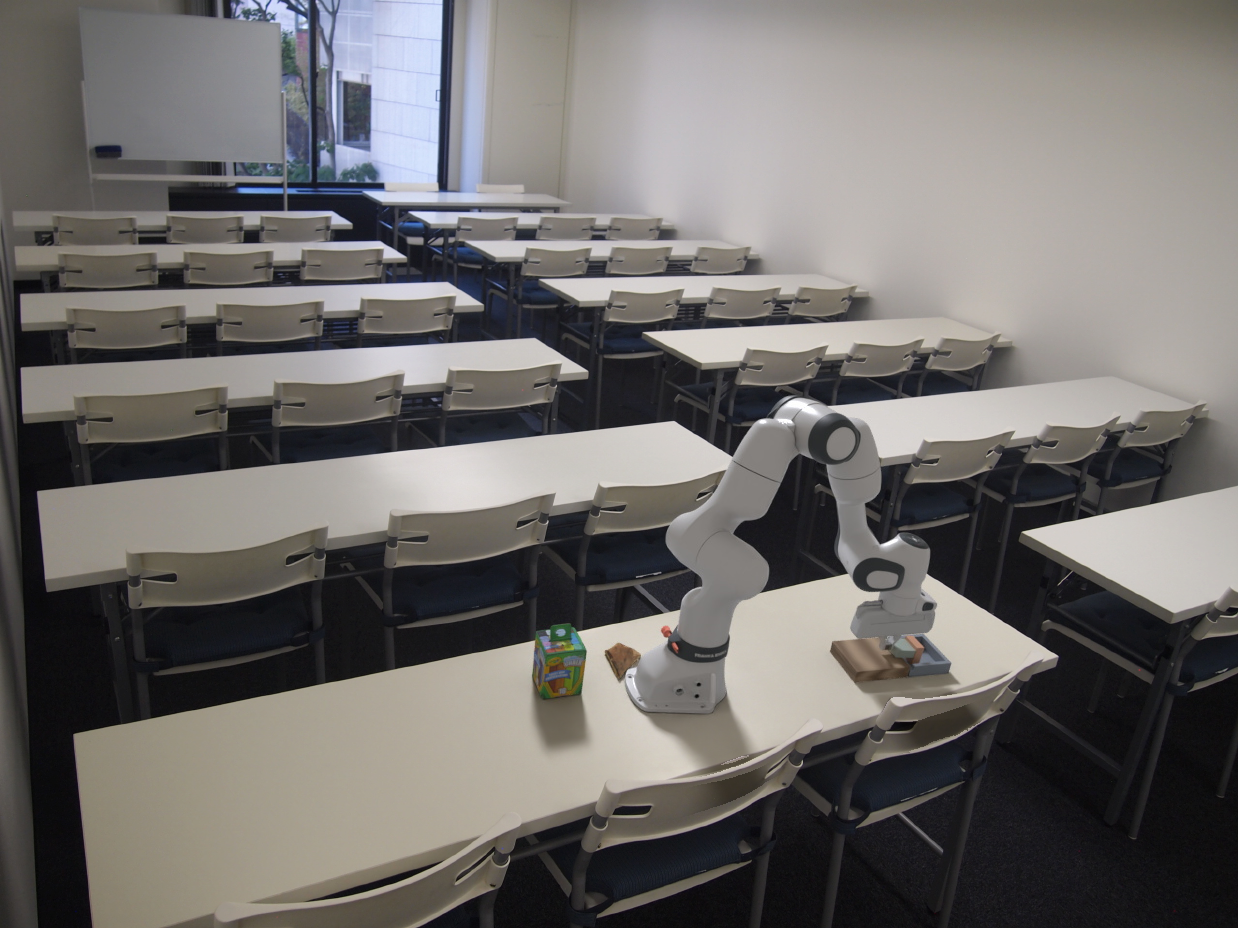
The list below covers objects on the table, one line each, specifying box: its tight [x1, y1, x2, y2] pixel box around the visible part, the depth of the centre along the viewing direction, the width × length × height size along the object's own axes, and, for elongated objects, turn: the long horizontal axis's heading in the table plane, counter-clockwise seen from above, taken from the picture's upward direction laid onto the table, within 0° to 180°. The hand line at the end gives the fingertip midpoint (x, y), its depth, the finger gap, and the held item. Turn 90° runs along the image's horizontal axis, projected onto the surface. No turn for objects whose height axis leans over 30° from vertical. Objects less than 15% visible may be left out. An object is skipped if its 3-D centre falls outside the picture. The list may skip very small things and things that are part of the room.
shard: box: [604, 642, 642, 680], centre depth 208 cm, size 11×8×2 cm
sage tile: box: [886, 637, 916, 658], centre depth 218 cm, size 5×5×2 cm
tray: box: [887, 633, 952, 678], centre depth 221 cm, size 11×12×3 cm
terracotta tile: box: [905, 636, 924, 666], centre depth 220 cm, size 5×5×2 cm
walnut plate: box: [829, 637, 910, 683], centre depth 217 cm, size 14×12×3 cm
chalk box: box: [531, 622, 588, 700], centre depth 196 cm, size 9×9×15 cm
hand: (885, 648), depth 217 cm, fingers closed
